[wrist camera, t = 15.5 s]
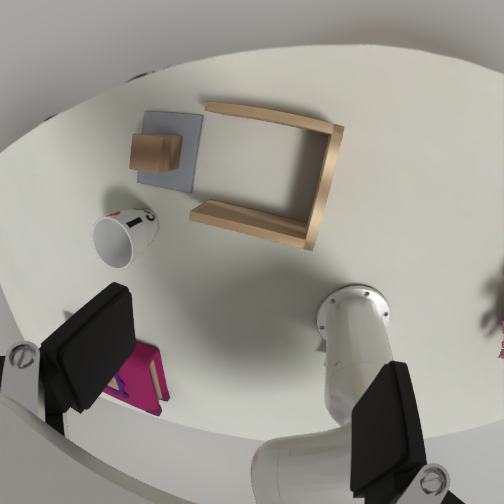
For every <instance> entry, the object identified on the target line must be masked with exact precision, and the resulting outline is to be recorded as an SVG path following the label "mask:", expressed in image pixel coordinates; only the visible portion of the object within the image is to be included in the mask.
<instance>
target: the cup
mask: <svg viewBox="0 0 504 504" xmlns="http://www.w3.org/2000/svg"><path fill="white" fill-rule="evenodd" d="M158 228H159V223H158V219H157V217H156V215H155V214H154V213H153V212H152V211H150V210H148V209H130V210H124V211H119V212H117V213H114V214H111V215H108V216H106V217H103V218H101V219H99V220H98V221H97V222H96V223H95V225H94V227H93V230H92V242H93V246H94V249H95V251H96V253H97V255H98V256H99V258H100V259H101V260H102V261H103V262H104V263H105V264H106V265H107V266H109V267H111V268H113V269H124V268H126V267H127V266H128V265H129V264H131V263H132V262H133V261H134V260H135V259H136V258H137V257H138V256H139V255H141V254H142V253H143V251H144V250H145V249H146V248H147V247H148V245H149V244H150V243H151V242H152V241H153V239H154V237H155V235H156V233H157V231H158Z"/></svg>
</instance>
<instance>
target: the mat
mask: <svg viewBox="0 0 504 504" xmlns="http://www.w3.org/2000/svg"><path fill="white" fill-rule="evenodd" d="M202 121H203V115H194V114H183V113H171V112H154V111H145V116H144V123H143V130H142V134H145V133H159V134H168V135H177V136H183V141H182V147H181V154H180V162H179V168H178V169H174V170H171V171H167V172H163V173H160V174H157V173H151V172H145V171H139V170H138V179H137V183H141V184H147V185H152V186H157V187H162V188H167V189H172V190H177V191H182V192H187V193H192V188H193V181H194V173H195V166H196V159H197V152H198V146H199V139H200V133H201V127H202Z"/></svg>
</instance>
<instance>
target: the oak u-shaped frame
mask: <svg viewBox="0 0 504 504" xmlns="http://www.w3.org/2000/svg"><path fill="white" fill-rule="evenodd" d="M205 111H210V112H214V113H219V114H223V115H230V116H237V117H244V118H250V119H256V120H262V121H267V122H272V123H277V124H282V125H287V126H292V127H297V128H301V129H305V130H310V131H314V132H318V133H322V134H326V135H329V137H328V141H327V146H326V150H325V155H324V159H323V163H322V167H321V172H320V176H319V180H318V184H317V188H316V192H315V196H314V200H313V204H312V208H311V212H310V216H309V220H308V223H304V222H300V221H297V220H293V219H289V218H285V217H281V216H277V215H273V214H269V213H265V212H261V211H257V210H253V209H248V208H244V207H240V206H236V205H231V204H227V203H223V202H218V201H214V200H208V201H206V202H205V203H203V204H201V205H200V206H198V207H196V208H195V209H193V210H191V211H190V219H189V220H192V221H196V222H200V223H204V224H208V225H212V226H216V227H220V228H224V229H228V230H232V231H236V232H240V233H244V234H248V235H252V236H256V237H260V238H264V239H267V240H271V241H275V242H279V243H283V244H287V245H290V246H294V247H298V248H302V249H306V250H309V251H313V248H314V245H315V241H316V238H317V234H318V231H319V227H320V224H321V220H322V216H323V213H324V209H325V205H326V202H327V198H328V194H329V190H330V186H331V182H332V178H333V174H334V170H335V166H336V162H337V158H338V153H339V149H340V145H341V140H342V136H343V131H344V127H343V126H340V125H336V124H332V123H329V122H325V121H321V120H317V119H312V118H308V117H304V116H299V115H295V114H290V113H285V112H280V111H274V110H269V109H263V108H257V107H251V106H244V105H237V104H229V103H220V102H211V101H207V102H206V108H205Z"/></svg>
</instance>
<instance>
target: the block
mask: <svg viewBox="0 0 504 504" xmlns="http://www.w3.org/2000/svg"><path fill="white" fill-rule="evenodd" d="M182 141H183V136H177V135H168V134H159V133H145V134H133V138H132V147H131V156H130V167H129V169H133V170H139V171H145V172H151V173H157V174H160V173H163V172H167V171H171V170H174V169H178V168H179V162H180V154H181V147H182Z"/></svg>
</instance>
